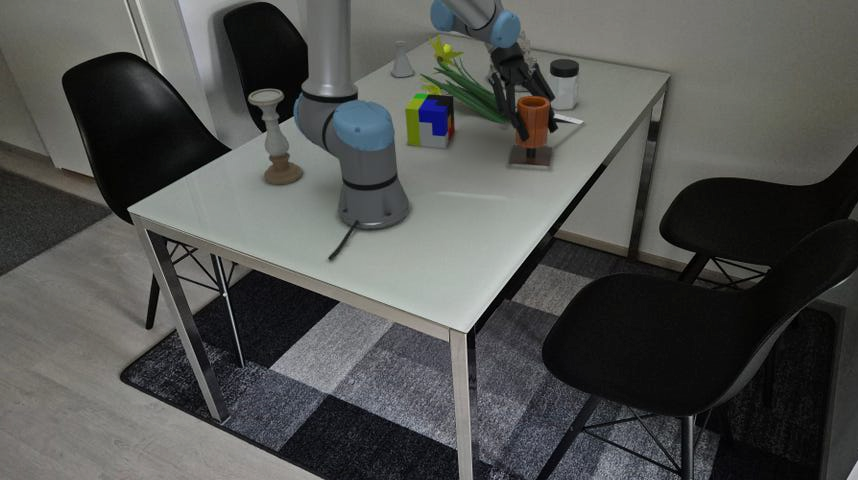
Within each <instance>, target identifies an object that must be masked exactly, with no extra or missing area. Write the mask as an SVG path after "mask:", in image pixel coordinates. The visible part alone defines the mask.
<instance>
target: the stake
mask: <svg viewBox="0 0 858 480" xmlns="http://www.w3.org/2000/svg"><path fill="white" fill-rule="evenodd" d="M528 107H539V106H538V105H534V104H532V105H529V106H528ZM552 152H553V147H552V146H542V147H538V148H526V147H523V146H520V145H518V144H512V148H511V152H510V157H509V161H508V164H510V165H523V166H541V167H550V166H551V160H552V159H551V158H552Z"/></svg>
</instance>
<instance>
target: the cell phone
mask: <svg viewBox="0 0 858 480" xmlns="http://www.w3.org/2000/svg"><path fill="white" fill-rule="evenodd" d="M554 114H555V116H554V119H555V121H556V124H557V123H558V124H560V123H561V124H573V125H574V124H575V125H584V123H585V122H584V120H582V119H578V118H574V117H571V116H566V115H563V114H559V113H554Z"/></svg>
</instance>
